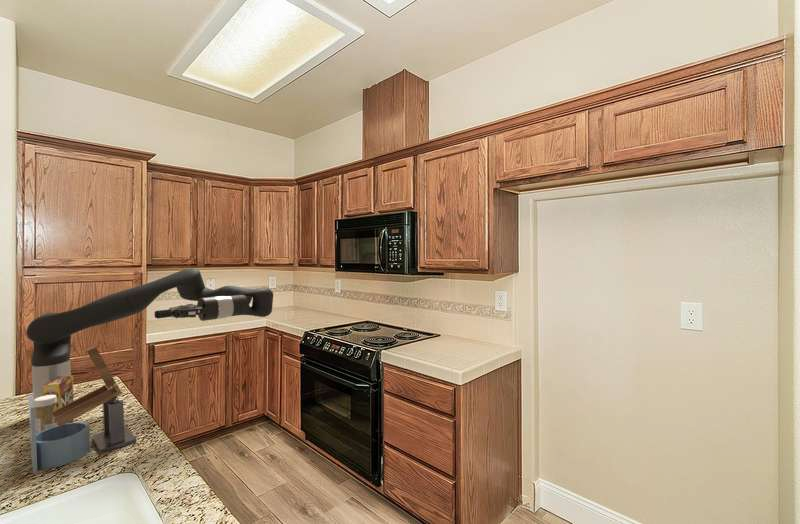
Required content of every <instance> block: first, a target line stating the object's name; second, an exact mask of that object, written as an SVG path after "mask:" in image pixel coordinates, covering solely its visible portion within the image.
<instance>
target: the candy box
mask: <svg viewBox="0 0 800 524" xmlns="http://www.w3.org/2000/svg"><path fill="white" fill-rule="evenodd" d="M42 388H43V396H46V395H56V396H57V402H56V410H57V409H59V408H61V407H63V406H65V405H67V404H69V403H71V402H73V401H74V375H73V374H71V375H66V376H59V377H56V378H55V379H53V380H51V381H50V382H48V383H46V384H45V385H43V386H42ZM73 422H75V419H74V420H72V421H70V422H68V423H73ZM57 426H58V425H57Z"/></svg>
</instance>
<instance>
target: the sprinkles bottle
mask: <svg viewBox="0 0 800 524" xmlns="http://www.w3.org/2000/svg"><path fill="white" fill-rule="evenodd" d="M56 402H57V396H56V395H46V396H41V397H38V398H36V399H35V400H34V407H35V428H36V434H37V433H38V432H41V431H43V430H46V429H48V428H51V427H54V426H57V423H56V422H55V420H54V418H55V417H54V415H53V414H52V412H53V411H55V410H56Z"/></svg>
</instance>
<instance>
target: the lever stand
mask: <svg viewBox="0 0 800 524" xmlns="http://www.w3.org/2000/svg"><path fill="white" fill-rule="evenodd" d="M112 401H113V402H112ZM112 401H111V400H109V401H107V402H105V403H103V404H102V418H103V419H102V420H103V421H102V422H103V431H102V432H99V433H95V434H92V435H91V437H92V438H91V439H92V440H93V441H92V442H93V443H94V445H95V447H96V449H97V451H98V453H99V454H102V455H103V454H105V453H107V452H111V451H113V450H118V449H120V448H123V447H127V446H129V445H133V444H134V443H137V438H136V436H135V435H134V434H133V432H132V430H131V429H130V428H129V427H128V425H125V415H124V413H125V411H124V401H123V400H122V399H121V400H120V399H119V397H118V398H113V400H112Z"/></svg>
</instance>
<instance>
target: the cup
mask: <svg viewBox="0 0 800 524" xmlns="http://www.w3.org/2000/svg"><path fill="white" fill-rule="evenodd" d="M27 398H28V399H27V400H28V401H27V402H28V418H29V440H30V459H31V467H32V473H33V475H36V474H38V469H39V470H46V469H52V468H53V469H54V468H58V467H60V466H64V465H67V464H70V463H74V462H75V461H78V460H79V459H81V458H83V457H85V456H86V455H87V454H88V453H89V452H90V451H91V435H90V434H91V432H90V425H89V423H88V422H86V421H85V422H83V421H76V422H75V421H74V422H73V423H66V424H64V425H62V426H61V427H59V426H54V427H51V428H48V429H46V430H43V431H41V432H38V433H37V434H36V427H35V407H34V402H33V395H28V396H27Z"/></svg>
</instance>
